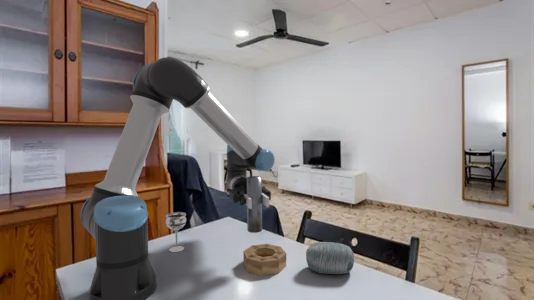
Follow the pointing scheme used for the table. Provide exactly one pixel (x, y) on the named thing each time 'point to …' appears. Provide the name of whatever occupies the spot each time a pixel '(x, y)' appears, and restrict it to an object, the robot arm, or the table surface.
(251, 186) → the rod
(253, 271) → the brown thick faceted ring
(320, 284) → the table surface
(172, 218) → the wineglass
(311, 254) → the grey yarn skein
